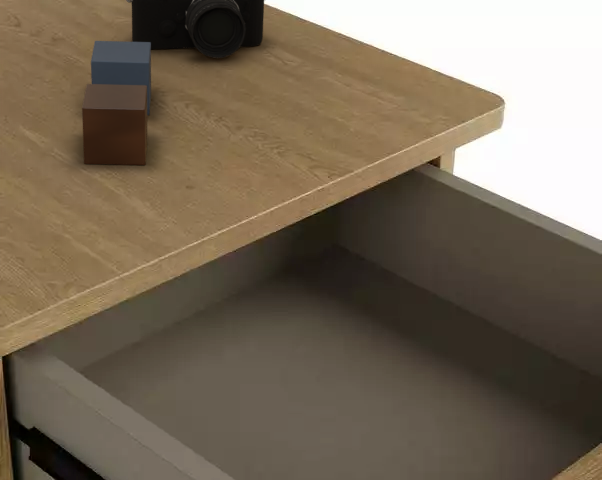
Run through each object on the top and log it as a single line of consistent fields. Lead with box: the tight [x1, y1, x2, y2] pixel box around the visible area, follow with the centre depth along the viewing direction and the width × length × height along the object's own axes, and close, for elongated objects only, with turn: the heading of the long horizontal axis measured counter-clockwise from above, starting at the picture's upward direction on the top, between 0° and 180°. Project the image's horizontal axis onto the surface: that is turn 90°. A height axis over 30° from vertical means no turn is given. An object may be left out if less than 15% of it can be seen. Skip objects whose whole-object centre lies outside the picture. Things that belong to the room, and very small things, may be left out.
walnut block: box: [81, 83, 148, 166], centre depth 107 cm, size 5×5×5 cm
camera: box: [125, 0, 265, 59], centre depth 127 cm, size 14×7×8 cm, turn 102°
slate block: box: [90, 40, 152, 117], centre depth 116 cm, size 5×5×5 cm
